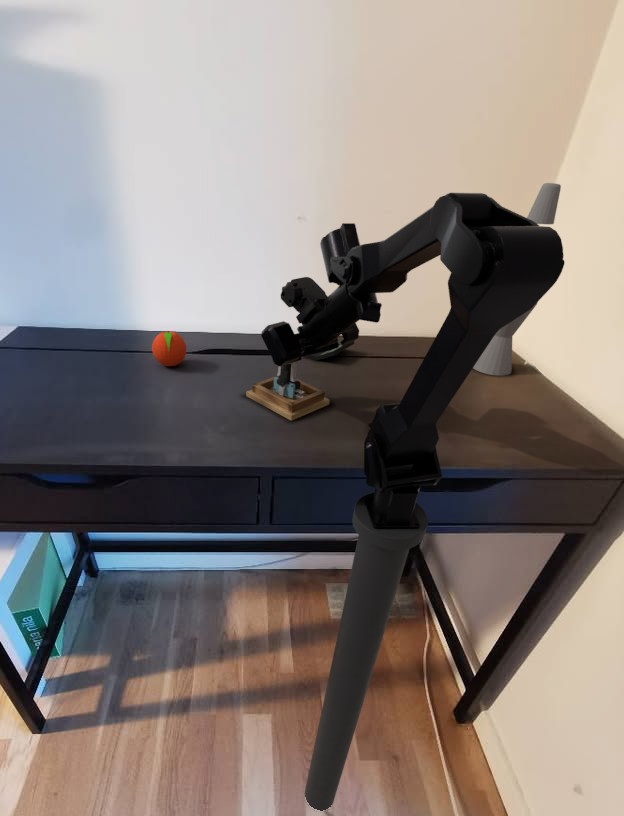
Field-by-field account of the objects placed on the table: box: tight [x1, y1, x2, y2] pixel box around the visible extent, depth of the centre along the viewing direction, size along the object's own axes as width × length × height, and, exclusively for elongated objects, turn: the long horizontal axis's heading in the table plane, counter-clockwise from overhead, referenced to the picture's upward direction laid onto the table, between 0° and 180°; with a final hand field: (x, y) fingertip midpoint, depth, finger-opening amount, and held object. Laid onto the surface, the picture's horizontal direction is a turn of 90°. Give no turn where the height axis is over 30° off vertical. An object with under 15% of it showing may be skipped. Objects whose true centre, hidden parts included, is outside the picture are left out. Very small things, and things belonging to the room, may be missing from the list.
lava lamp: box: [472, 182, 562, 377], centre depth 98 cm, size 9×9×35 cm
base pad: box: [246, 375, 331, 421], centre depth 90 cm, size 12×10×2 cm
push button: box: [273, 342, 305, 398], centre depth 87 cm, size 7×5×10 cm
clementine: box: [151, 330, 187, 367], centre depth 100 cm, size 8×7×7 cm
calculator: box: [303, 341, 355, 361], centre depth 110 cm, size 9×12×3 cm
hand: (285, 358), depth 87 cm, fingers closed on push button, 5 cm apart
